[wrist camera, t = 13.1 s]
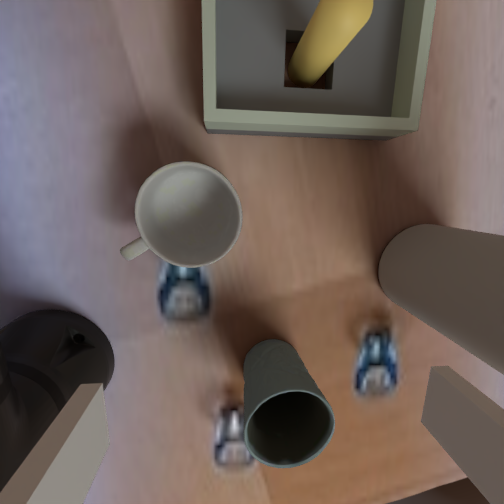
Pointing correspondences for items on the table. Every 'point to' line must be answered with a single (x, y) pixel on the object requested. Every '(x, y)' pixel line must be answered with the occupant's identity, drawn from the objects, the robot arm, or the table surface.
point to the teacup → (186, 215)
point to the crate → (337, 75)
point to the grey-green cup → (283, 407)
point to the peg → (326, 38)
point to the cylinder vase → (450, 285)
